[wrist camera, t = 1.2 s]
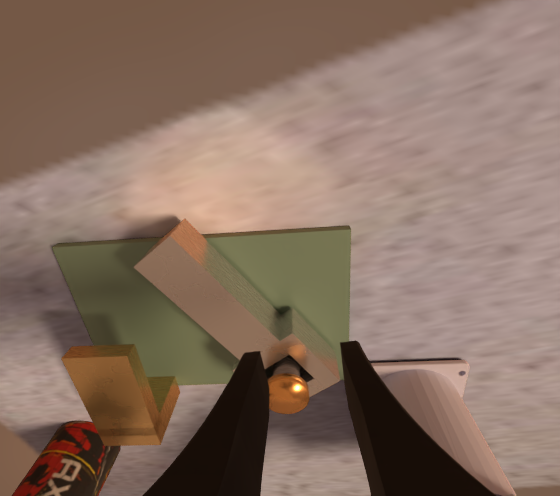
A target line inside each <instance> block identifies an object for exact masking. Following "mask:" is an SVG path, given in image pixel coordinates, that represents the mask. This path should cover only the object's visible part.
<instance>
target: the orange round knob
mask: <svg viewBox="0 0 560 496" xmlns="http://www.w3.org/2000/svg"><path fill="white" fill-rule="evenodd" d="M267 381H268V384H269V409H271V410H272V411H274V412H277V413H281V414H292V413H296V412H299V411H301V410H302V409H304V408H305V407H306V406H307V404H308V402H309V387H308V385H307V383H306V381H305V380H304V379H302V378H301V377H300V364H299V363H298V362H297V361H296V360H295V359H294V358H293V357H291V356H290V355H288V356H286V357H284V358H283V359H281V360H279V361H278V362H276V363H274V364H273V375H272V377H271V378H269V379H268V380H267Z"/></svg>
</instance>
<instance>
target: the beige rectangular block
mask: <svg viewBox="0 0 560 496" xmlns="http://www.w3.org/2000/svg"><path fill="white" fill-rule="evenodd" d="M134 268H135V269H136V270H137V271H138V272H140V273H141V274H142V275H143V276H144V277H145V278H146V279H148V280H149V281H150V282H151V283H152V284H153V285H154V286H156V287H157V288H158V289H159V290H160V291H161V292H162V293H164V294H165V295H166V296H167V297H168V298H169V299H170V300H171V301H173V302H174V303H175V304H176V305H177V306H178V307H179V308H181V309H182V310H183V311H184V312H185V313H186V314H187V315H189V316H190V317H191V318H192V319H193V320H194V321H195V322H197V323H198V324H199V325H200V326H201V327H202V328H203V329H205V330H206V331H207V332H208V333H209V334H210V335H211V336H213V337H214V338H215V339H216V340H217V341H218V342H219V343H221V344H222V345H223V346H224V347H225V348H226V349H227V350H229V351H230V352H231V353H232V354H233V355H234V356H235V359H234V364H233V369H232V371H233V372H234V371H235V369H236V367H237V365H238V363H239V361H240V359H241V357H242V355H243V354H244V353H245V352H255V351H260V353H261V357H262V361H263V365H264V369H265V373H266V377H267V380H268V379H269V378H271V377H272V375H273V364H274V363H276V362H278V361H279V360H281V359H283V358H284V357H286V356H288V355H290V356H291V357H293V358H294V359H295V360H296V361H297V362H298V363H299V364H300V377H301V378H302V379H304V380H305V381H306V383H307V385H308V387H309V397H311V396H313V395H315V394H317V393H318V392H320V391H322V390H324V389H326V388H328V387H330V386H332V385H333V384H335V383H337V382H339V381H340V376H339V371H338V365H337V359H336V353H335V351H334V350H333V349H332V348H331V347H330V346H329V345H328V344H327V343H326V342H325V341H324V340H323V339H322V338H321V337H320V336H319V335H318V334H317V332H316V331H315V330H314V329H313V328H312V327H311V326H310V325H309V324H308V323H307V322H306V321H305V320H304V319H303V318H302V317H301V316H300V315H299V314H298V313H297V312H296V311H295V310H294V309H293V308H291V309H289V310H288V311H286V312H284V313H283V314H280V313H279V312H278V311H277V310H276V309H275V308H274V307H273V306H272V305H271V304H270V303H269V302H268V301H267V300H266V299H265V298H264V297H263V296H262V295H261V294H260V293H259V292H258V291H257V290H256V289H255V288H254V287H253V286H252V285H251V284H250V283H249V282H248V281H247V280H246V279H245V278H244V277H243V276H242V275H241V274H240V273H239V272H238V271H237V270H236V269H235V268H234V267H233V266H232V265H231V264H230V263H229V262H228V261H227V260H226V259H225V258H224V257H223V256H222V255H221V254H220V253H219V252H218V251H217V250H216V249H215V248H214V247H213V246H212V245H211V244H210V243H209V242H208V241H207V240H206V239H205V238H204V237H203V236H202V235H201V234H200V233H199V232H198V231H197V230H196V229H195V228H194V227H193V226H192V225H191V224H190V223H189V222H188V221H187V220H186V219H184V220H183V221H181V222H180V223H179V224H178V225H177V226H176V227H174V228H173V229H172V230H171V231H170V232H169V233H167V234H166V235H165V236H164V237H163V238H162V239H161V240H159V241H158V242H157V243H156V244H155V245H154V246H152V247H151V249H150V250H149V251H148V252H147V253H146V254H145V255H144V256H143V257H142V258H141V259H140V261H139V262H138V263H137V264H136V265H135V266H134Z"/></svg>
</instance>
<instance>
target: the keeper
mask: <svg viewBox="0 0 560 496" xmlns="http://www.w3.org/2000/svg"><path fill="white" fill-rule="evenodd" d="M62 361H63V363H64V365H65V367H66V369H67V371H68V373H69V375H70V377H71V379H72V381H73V383H74V385H75V387H76V389H77V391H78V393H79V395H80V397H81V399H82V401H83V403H84V405H85V407H86V409H87V411H88V413H89V415H90V417H91V419H92V421H93V423H94V425H95V427H96V429H97V431H98V433H99V435H100V437H101V440H102V442H103V444H104V446H125V445H161V442H162V439H163V437H164V434H165V431H166V429H167V426H168V423H169V421H170V418H171V415H172V413H173V410H174V407H175V405H176V402H177V399H178V397H179V394H180V390H179V387H178V384H177V380H176V377H175V376H166V377H146V374H145V371H144V369H143V366H142V363H141V360H140V357H139V355H138V352H137V349H136V346H135V344H123V345H99V346H74V347H71V348H70V349H69V350H68V352H67V353H66V354H65V355H64V356H63V357H62Z"/></svg>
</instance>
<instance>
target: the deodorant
mask: <svg viewBox="0 0 560 496" xmlns="http://www.w3.org/2000/svg"><path fill="white" fill-rule="evenodd" d="M119 451H120V446H104V444H103V442H102V440H101V437H100V435H99V433H98V431H97V429H96V427H95V425H94V423H92V422H87V421H72V422H68V423H65V424H63V425H62V426H61V427H60V428H59V429H58V430H57V432H56V433H55V434H54V436H53V437H52V439H51V440H50V442H49V443H48V444H47V446H46V447H45V449H44V450H43V452H42V453H41V454H40V456H39V457H38V459H37V460H36V462H35V463H34V465H33V466H32V467H31V469H30V470H29V472H28V473H27V475H26V476H25V478H24V479H23V480H22V482H21V483H20V485H19V486H18V488H17V489H16V490H15V492H14V493H13V495H12V496H98V495H99V493H100V491H101V489H102V487H103V485H104V483H105V481H106V478H107V476H108V474H109V472H110V470H111V468H112V466H113V464H114V462H115V460H116V458H117V456H118V454H119Z"/></svg>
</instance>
